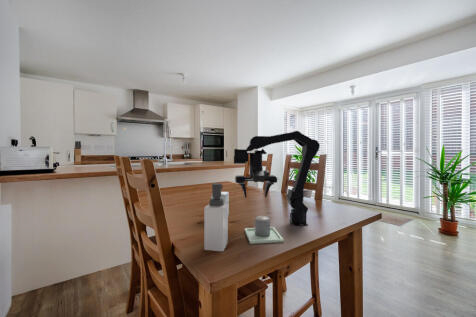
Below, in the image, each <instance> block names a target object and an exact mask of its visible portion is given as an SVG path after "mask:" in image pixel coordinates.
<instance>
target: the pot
mask: <svg viewBox="0 0 476 317" xmlns="http://www.w3.org/2000/svg"><path fill="white" fill-rule="evenodd" d="M270 227H271V218H270V216H265V215H258V216H256V217H255V219H254V228H255V235H256V236H258V237H268V236H270Z"/></svg>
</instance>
